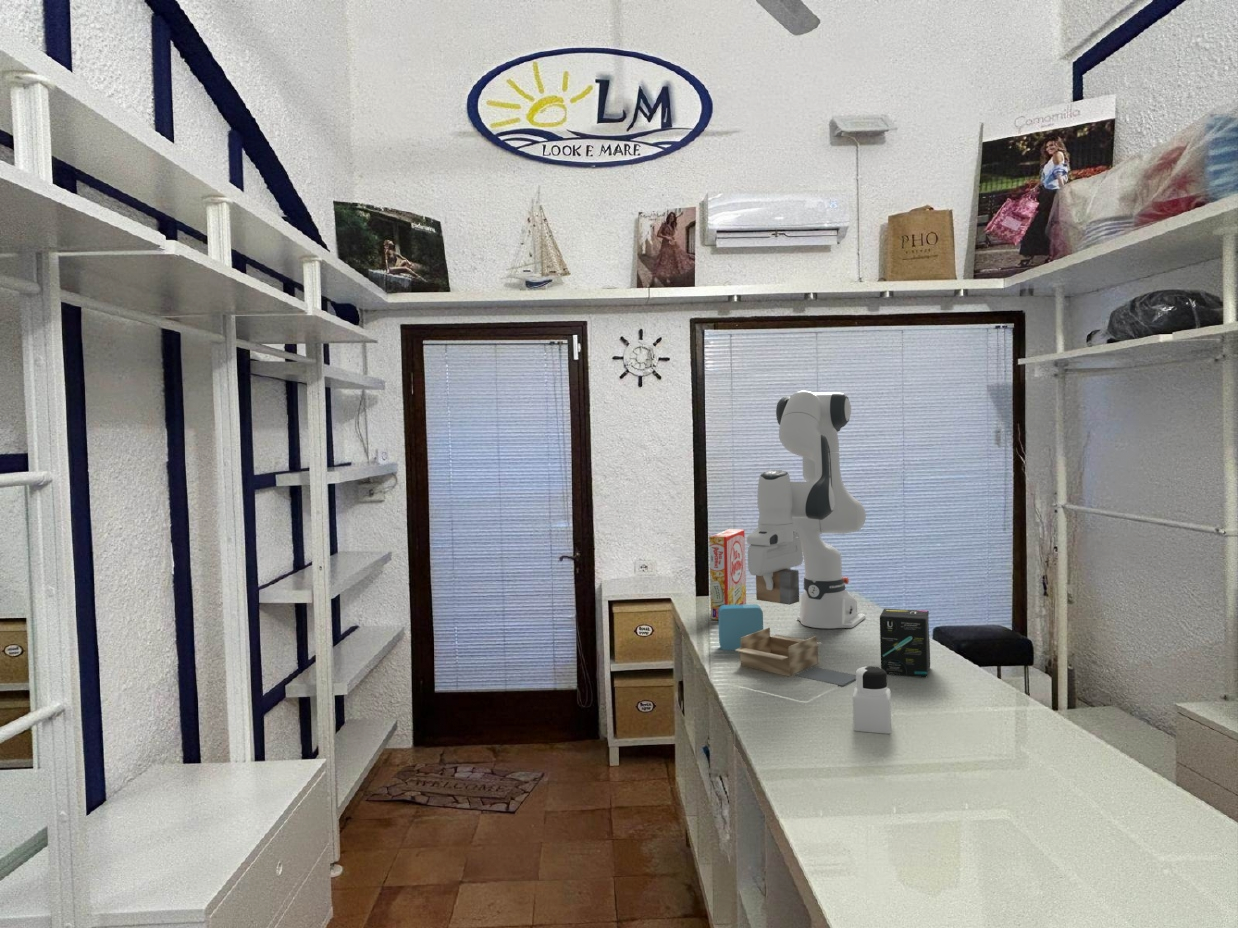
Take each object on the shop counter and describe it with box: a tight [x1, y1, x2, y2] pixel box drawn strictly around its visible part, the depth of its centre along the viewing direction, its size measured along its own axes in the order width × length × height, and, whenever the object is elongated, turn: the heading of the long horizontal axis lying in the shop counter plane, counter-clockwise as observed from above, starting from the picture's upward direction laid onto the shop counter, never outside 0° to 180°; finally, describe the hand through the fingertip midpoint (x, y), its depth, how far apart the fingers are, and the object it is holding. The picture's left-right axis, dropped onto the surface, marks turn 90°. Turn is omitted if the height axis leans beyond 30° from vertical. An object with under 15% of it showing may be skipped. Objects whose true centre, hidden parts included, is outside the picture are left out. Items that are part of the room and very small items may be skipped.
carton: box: [734, 627, 822, 677], centre depth 209 cm, size 19×15×8 cm
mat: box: [794, 665, 856, 688], centre depth 199 cm, size 9×13×1 cm
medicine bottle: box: [852, 665, 892, 735], centre depth 166 cm, size 7×7×12 cm
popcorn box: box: [708, 528, 747, 621], centre depth 268 cm, size 20×6×27 cm, turn 155°
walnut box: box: [755, 568, 800, 606], centre depth 209 cm, size 4×10×8 cm, turn 46°
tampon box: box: [879, 608, 931, 679], centre depth 201 cm, size 11×9×15 cm
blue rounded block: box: [718, 603, 764, 651], centre depth 226 cm, size 12×4×12 cm, turn 87°
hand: (777, 587), depth 209 cm, fingers closed on walnut box, 4 cm apart
